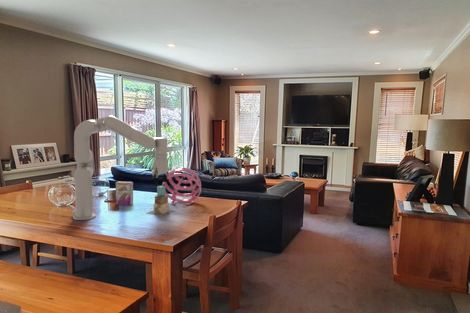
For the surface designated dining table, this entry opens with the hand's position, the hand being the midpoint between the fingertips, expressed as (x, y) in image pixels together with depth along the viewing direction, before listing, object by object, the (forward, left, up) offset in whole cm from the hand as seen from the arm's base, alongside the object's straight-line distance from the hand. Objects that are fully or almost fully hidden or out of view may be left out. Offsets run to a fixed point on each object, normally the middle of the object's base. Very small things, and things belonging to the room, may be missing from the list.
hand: (160, 182), depth 209 cm
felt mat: (0, 0, -20) cm, 20 cm away
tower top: (+1, 0, -13) cm, 13 cm away
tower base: (0, 0, -19) cm, 19 cm away
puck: (0, 0, -8) cm, 8 cm away
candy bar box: (-36, +6, -20) cm, 41 cm away
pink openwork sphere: (-1, +28, -20) cm, 35 cm away
